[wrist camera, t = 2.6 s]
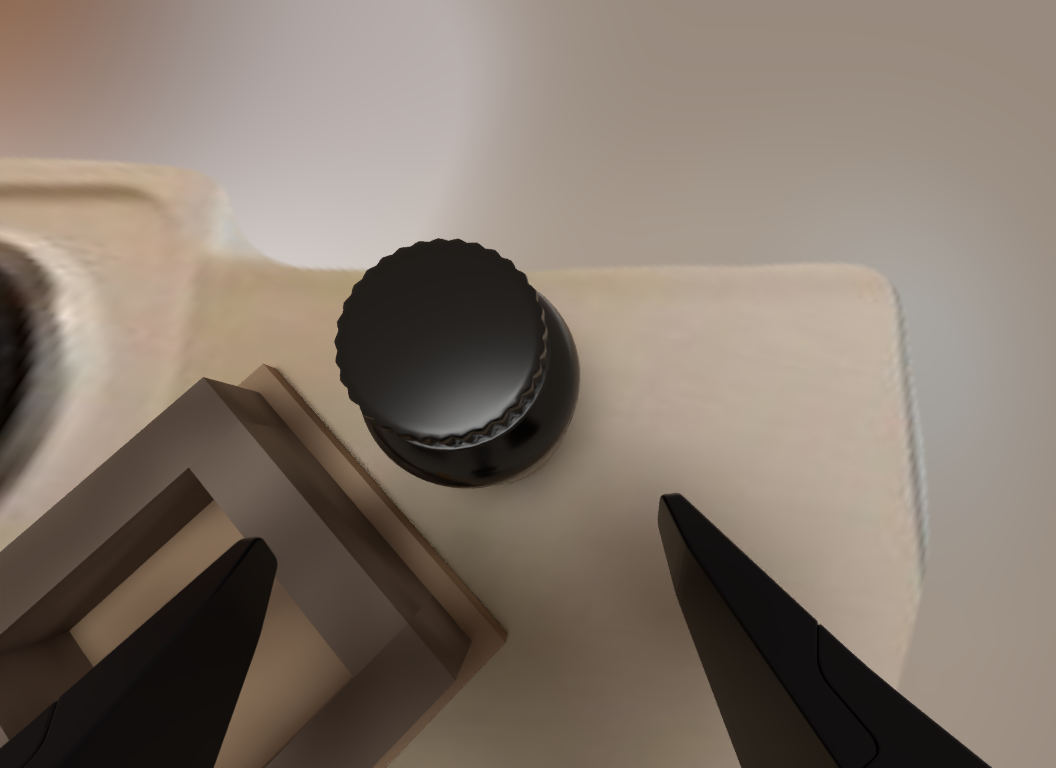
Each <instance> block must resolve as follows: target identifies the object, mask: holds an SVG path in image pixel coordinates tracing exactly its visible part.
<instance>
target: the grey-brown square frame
mask: <svg viewBox="0 0 1056 768" xmlns="http://www.w3.org/2000/svg"><path fill="white" fill-rule="evenodd" d="M250 537H261V538H263V539H264V540H265V542H266V543H267V545H268V546H269V548H270V549H271V550H272V552H273V553H274V555H275V556H276V558H277V571H276V575H275V579H274V583H273V587H272V591H271V596H270V600H269V604H268V608H267V612H266V616H265V620H264V624H263V628H262V631H261V635H260V638H259V641H258V644H257V647H256V650H255V653H254V656H253V659H252V662H251V664H250V667H249V670H248V673H247V676H246V679H245V681H244V684H243V687H242V690H241V693H240V696H239V698H238V701H237V704H236V707H235V710H234V712H233V715H232V718H231V721H230V724H229V727H228V729H227V732H226V735H225V738H224V741H223V744H222V746H221V749H220V752H219V755H218V758H217V761H216V763H215V766H214V768H386V767H387V766H388V765H389V764H390V763H391V762H392V761H393V760H394V759H395V757H396V756H397V755H398V754H399V753H400V752H401V751H402V750H403V749H404V748H405V747H406V746H407V745H408V744H409V743H410V742H411V741H412V740H413V739H414V737H415V736H416V735H417V734H418V733H419V732H420V731H421V730H422V729H423V728H424V727H425V726H426V725H427V724H428V723H429V722H430V721H431V720H432V719H433V718H434V716H435V715H436V714H437V713H438V712H439V711H440V710H441V709H442V708H443V707H444V706H445V705H446V704H447V703H448V702H449V701H450V700H451V699H452V698H453V696H454V695H455V694H456V693H457V692H458V691H459V690H460V689H461V688H462V687H463V686H464V685H465V684H466V683H467V682H468V681H469V680H470V679H471V678H472V676H473V675H474V674H475V673H476V672H477V671H478V670H479V669H480V668H481V667H482V666H483V665H484V664H485V663H486V662H487V661H488V660H489V659H490V658H491V657H492V655H493V654H494V653H495V652H496V651H497V650H498V649H499V648H500V647H501V646H502V645H503V644H504V643H505V641H506V637H507V632H506V631H505V630H504V629H503V628H502V627H501V625H500V624H499V623H498V622H497V621H496V620H495V619H494V617H493V616H492V615H491V614H490V613H489V612H488V611H487V609H486V608H485V607H484V606H483V605H482V604H481V603H480V601H479V600H478V599H477V598H476V597H475V596H474V595H473V593H472V592H471V591H470V590H469V589H468V588H467V587H466V585H465V584H464V583H463V582H462V581H461V580H460V579H459V577H458V576H457V575H456V574H455V573H454V572H453V571H452V569H451V568H450V567H449V566H448V565H447V564H446V563H445V561H444V560H443V559H442V558H441V557H440V556H439V555H438V553H437V552H436V551H435V550H434V549H433V548H432V547H431V545H430V544H429V543H428V542H427V541H426V540H425V539H424V537H423V536H422V535H421V534H420V533H419V532H418V531H417V529H416V528H415V527H414V526H413V525H412V524H411V523H410V521H409V520H408V519H407V518H406V517H405V516H404V515H403V513H402V512H401V511H400V510H399V509H398V508H397V507H396V505H395V504H394V503H393V502H392V501H391V500H390V499H389V497H388V496H387V495H386V494H385V493H384V492H383V491H382V489H381V488H380V487H379V486H378V485H377V484H376V483H375V481H374V480H373V479H372V478H371V477H370V476H369V475H368V473H367V472H366V471H365V470H364V469H363V468H362V467H361V465H360V464H359V463H358V462H357V461H356V460H355V459H354V457H353V456H352V455H351V454H350V453H349V452H348V451H347V449H346V448H345V447H344V446H343V445H342V444H341V443H340V441H339V440H338V439H337V438H336V437H335V436H334V435H333V433H332V432H331V431H330V430H329V429H328V428H327V427H326V425H325V424H324V423H323V422H322V421H321V420H320V419H319V417H318V416H317V415H316V414H315V413H314V412H313V411H312V409H311V408H310V407H309V406H308V405H307V404H306V403H305V401H304V400H303V399H302V398H301V397H300V396H299V395H298V393H297V392H296V391H295V390H294V389H293V388H292V387H291V385H290V384H289V383H288V382H287V381H286V380H285V379H284V377H283V376H282V375H281V374H280V373H279V372H278V371H277V369H276V368H273V367H271V366H268V365H265V364H262V365H261V366H260V367H259V368H258V369H257V370H256V371H254V372H253V373H252V374H251V375H250V376H249V377H248V378H246V379H245V380H244V381H243V382H242V383H241V384H240V385H238V386H234V385H230V384H226V383H223V382H219V381H215V380H212V379H208V378H204V377H203V378H202V379H200V380H199V381H198V382H197V383H196V384H195V385H194V386H192V387H191V388H190V389H189V390H188V391H187V392H185V393H184V394H183V395H182V396H181V397H180V398H178V399H177V400H176V401H175V402H174V403H173V404H171V405H170V406H169V407H168V408H167V409H166V410H165V411H163V412H162V413H161V414H160V415H159V416H158V417H156V418H155V419H154V420H153V421H152V422H151V423H149V424H148V425H147V426H146V427H145V428H144V429H142V430H141V431H140V432H139V433H138V434H137V435H136V436H134V437H133V438H132V439H131V440H130V441H129V442H127V443H126V444H125V445H124V446H123V447H122V448H120V449H119V450H118V451H117V452H116V453H115V454H113V455H112V456H111V457H110V458H109V459H108V460H107V461H105V462H104V463H103V464H102V465H101V466H100V467H98V468H97V469H96V470H95V471H94V472H93V473H91V474H90V475H89V476H88V477H87V478H86V479H84V480H83V481H82V482H81V483H80V484H79V485H78V486H76V487H75V488H74V489H73V490H72V491H71V492H69V493H68V494H67V495H66V496H65V497H64V498H62V499H61V500H60V501H59V502H58V503H57V504H55V505H54V506H53V507H52V508H51V509H50V510H49V511H47V512H46V513H45V514H44V515H43V516H42V517H40V518H39V519H38V520H37V521H36V522H35V523H33V524H32V525H31V526H30V527H29V528H28V529H27V530H25V531H24V532H23V533H22V534H21V535H20V536H18V537H17V538H16V539H15V540H14V541H13V542H11V543H10V544H9V545H8V546H7V547H6V548H4V549H3V550H2V551H1V552H0V748H1V747H2V746H3V745H4V744H5V743H7V742H8V741H9V740H10V739H11V738H12V737H14V736H15V735H16V734H17V733H18V732H19V731H21V730H22V729H23V728H24V727H25V726H26V725H28V724H29V723H30V722H31V721H32V720H33V719H35V718H36V717H37V716H38V715H39V714H40V713H41V712H43V711H44V710H45V709H46V708H47V707H48V706H49V705H51V704H52V703H53V702H54V701H58V699H59V697H60V696H61V695H62V694H63V693H64V692H66V691H67V690H68V689H69V688H70V687H71V686H72V685H74V684H75V683H76V682H77V681H78V680H79V679H80V678H82V677H83V676H84V675H85V674H86V673H87V672H88V671H90V670H91V669H92V668H93V667H94V666H95V665H96V664H98V663H99V662H100V661H101V660H102V659H103V658H104V657H106V656H107V655H108V654H109V653H110V652H111V651H112V650H114V649H115V648H116V647H117V646H118V645H119V644H121V643H122V642H123V641H124V640H125V639H126V638H127V637H129V636H130V635H131V634H132V633H133V632H134V631H135V630H137V629H138V628H139V627H140V626H141V625H142V624H143V623H145V622H146V621H147V620H148V619H149V618H150V617H151V616H153V615H154V614H155V613H156V612H157V611H158V610H159V609H161V608H162V607H163V606H164V605H165V604H166V603H167V602H169V601H170V600H171V599H172V598H173V597H174V596H175V595H177V594H178V593H179V592H180V591H181V590H182V589H183V588H185V587H186V586H187V585H188V584H189V583H190V582H191V581H193V580H194V579H195V578H196V577H197V576H198V575H199V574H201V573H202V572H203V571H204V570H205V569H206V568H207V567H209V566H210V565H211V564H212V563H213V562H214V561H215V560H217V559H218V558H219V557H220V556H221V555H222V554H223V553H225V552H226V551H227V550H228V549H229V548H230V547H231V546H233V545H234V544H235V543H236V542H237V541H239V540H240V539H243V538H250Z"/></svg>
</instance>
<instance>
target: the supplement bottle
mask: <svg viewBox="0 0 1056 768" xmlns="http://www.w3.org/2000/svg"><path fill="white" fill-rule="evenodd" d="M337 327H338V333H337V336H336V338H335V341H334V342H335V346H336V348H337V350H338V351H337V355H336V361H335V362H336V364H337V365H338V367H339V368H340V381H341V382H342V383H343V385H344V386H346V387H347V388H348V395H349V398H350V400H351V401H353V402H354V403H356V404H358V405H359V406H360V410H361V411H362V414H363V417H364V420H365V423H366V425H367V427H368V429H369V431H370V433H371V435H372V436H373V438H374V440H375V441H376V442H377V444H378V445H379V447H380V448H381V449H382V450H383V451H384V452H385V454H386V455H387V456H388V457H389V458H390V459H391V460H393V461H394V462H395V463H396V464H397V465H398V466H400V467H401V468H403V469H404V470H405V471H407V472H409V473H411V474H412V475H414V476H416V477H418V478H420V479H423V480H425V481H428V482H431V483H434V484H437V485H442V486H447V487H453V488H481V487H489V486H495V485H501V484H507V483H512V482H515V481H518V480H520V479H523V478H525V477H527V476H529V475H531V474H533V473H534V472H536V471H537V470H538V469H540V468H541V467H542V466H543V465H544V464H545V463H546V462H547V461H548V460H549V459H550V458H551V457H552V456H553V454H554V453H555V452H556V450H557V448H558V447H559V445H560V443H561V441H562V439H563V437H564V435H565V433H566V430H567V428H568V426H569V424H570V421H571V419H572V416H573V414H574V411H575V407H576V404H577V399H578V393H579V383H580V367H579V359H578V354H577V349H576V345H575V343H574V340H573V337H572V334H571V332H570V330H569V328H568V326H567V324H566V323H565V321H564V319H563V318H562V316H561V315H560V314H559V312H558V311H557V309H556V308H555V307H554V306H553V305H552V304H551V303H550V302H549V301H548V300H547V299H546V298H545V297H544V296H543V295H542V294H541V293H539V292H538V291H537V290H535V289H534V288H533V287H532V286H531V285H529V283H528V279H527V276H526V274H524V273H523V272H521V271H518V270H517V269H516V268H515V266H514V264H513V263H512V261H511V260H508V259H505V258H502V257H501V256H500V255H499V253H498V252H496V251H495V250H492V249H485V248H484V247H482V246H481V245H480V244H478V243H466V242H464V241H462V240H460V239H453V240H450V241H447V240H444V239H439V238H438V239H435V240H433V241H430V242H424V241H419V242H417V243H415V244H414V245H412V246H411V247H403V248H399V249H398V250H397V251H396V252H395V253H394V254H393V255H389V256H386V257H383V258H382V259H381V260H380V261H379V263H378V264H377V265H376V266H375V267H372V268H370V269H368V270H367V271H366V273H365V274H364V276H363V279H362V280H360V281H359V282H358V283H356V284H355V285H354V286H353V289H352V294H351V296H350V297H349V298H348V299H347V300H346V301H345V302H344V305H343V313H342V315H341V316H340V318H339V319H338V321H337Z"/></svg>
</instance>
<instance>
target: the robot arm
mask: <svg viewBox="0 0 1056 768" xmlns="http://www.w3.org/2000/svg"><path fill="white" fill-rule="evenodd" d="M658 527H659V531H660V535H661V539H662V543H663V546H664V550H665V554H666V558H667V562H668V566H669V570H670V574H671V577H672V581H673V585H674V589H675V592H676V596H677V599H678V601H679V604H680V607H681V610H682V612H683V615H684V618H685V620H686V623H687V626H688V628H689V631H690V633H691V636H692V639H693V641H694V644H695V647H696V649H697V652H698V655H699V657H700V660H701V663H702V665H703V668H704V670H705V673H706V676H707V678H708V681H709V684H710V686H711V689H712V692H713V694H714V697H715V699H716V702H717V705H718V707H719V710H720V713H721V715H722V718H723V721H724V723H725V726H726V728H727V731H728V734H729V736H730V739H731V742H732V744H733V747H734V750H735V752H736V755H737V757H738V760H739V763H740V765H741V768H992V767H991V766H989V765H988V764H987V763H985V762H984V761H983V760H982V759H980V758H979V757H978V756H977V755H976V754H974V753H973V752H972V751H971V750H969V749H968V748H967V747H966V746H964V745H963V744H962V743H961V742H959V741H958V740H957V739H956V738H954V737H953V736H952V735H951V734H949V733H948V732H947V731H946V730H944V729H943V728H942V727H941V726H939V725H938V724H937V723H936V722H934V721H933V720H932V719H931V718H929V717H928V716H927V715H926V714H925V713H923V712H922V711H921V710H920V709H918V708H917V707H916V706H915V705H913V704H912V703H911V702H910V701H908V700H907V699H906V698H905V697H903V696H902V695H901V694H900V693H899V692H897V691H896V690H895V689H894V688H893V687H891V686H890V685H889V684H888V683H887V682H885V681H884V680H883V679H882V678H880V677H879V676H878V675H877V674H876V673H874V672H873V671H872V670H871V669H870V668H868V667H867V666H866V665H865V664H864V663H863V662H862V661H861V660H860V659H858V658H857V657H856V656H855V655H854V654H853V653H852V652H851V651H849V650H848V649H847V648H846V647H845V646H844V645H843V644H842V643H841V642H839V641H838V640H837V639H836V638H835V637H834V636H833V635H832V634H831V633H830V632H829V631H828V630H827V629H825V628H824V627H823V626H822V625H820V624H819V625H818V622H817V620H816V619H815V618H813V617H812V616H811V615H810V614H809V613H808V612H807V611H806V610H805V609H804V608H803V607H802V606H801V605H800V604H798V603H797V602H796V601H795V600H794V599H793V598H792V597H791V596H790V595H789V594H788V593H787V592H786V591H784V590H783V589H782V588H781V587H780V586H779V585H778V584H777V583H776V582H775V581H774V580H773V579H772V578H770V577H769V576H768V575H767V574H766V573H765V572H764V571H763V570H762V569H761V568H760V567H759V566H758V565H757V564H755V563H754V562H753V561H752V560H751V559H750V558H749V557H748V556H747V555H746V554H745V553H744V552H743V551H741V550H740V549H739V548H738V547H737V546H736V545H735V544H734V543H733V542H732V541H731V540H730V539H729V538H728V537H726V536H725V535H724V534H723V533H722V532H721V531H720V530H719V529H718V528H717V527H716V526H715V525H714V524H712V523H711V522H710V521H709V520H708V519H707V518H706V517H705V516H704V515H703V514H702V513H701V512H700V511H699V510H697V509H696V508H695V507H694V506H693V505H692V504H691V503H690V502H689V501H688V500H687V499H686V498H685V497H683V496H682V495H681V494H679V493H672V494H663V495H662V496H661V497H660V502H659V511H658ZM276 571H277V558H276V556H275V555H274V553H273V552H272V550H271V549H270V548H269V546H268V545H267V543H266V542H265V540H264V539H263V538H261V537H250V538H243V539H240V540H239V541H237V542H236V543H235V544H234V545H233V546H231V547H230V548H229V549H228V550H227V551H226V552H225V553H223V554H222V555H221V556H220V557H219V558H218V559H217V560H215V561H214V562H213V563H212V564H211V565H210V566H209V567H207V568H206V569H205V570H204V571H203V572H202V573H201V574H199V575H198V576H197V577H196V578H195V579H194V580H193V581H191V582H190V583H189V584H188V585H187V586H186V587H185V588H183V589H182V590H181V591H180V592H179V593H178V594H177V595H175V596H174V597H173V598H172V599H171V600H170V601H169V602H167V603H166V604H165V605H164V606H163V607H162V608H161V609H159V610H158V611H157V612H156V613H155V614H154V615H153V616H151V617H150V618H149V619H148V620H147V621H146V622H145V623H143V624H142V625H141V626H140V627H139V628H138V629H137V630H135V631H134V632H133V633H132V634H131V635H130V636H129V637H127V638H126V639H125V640H124V641H123V642H122V643H121V644H119V645H118V646H117V647H116V648H115V649H114V650H112V651H111V652H110V653H109V654H108V655H107V656H106V657H104V658H103V659H102V660H101V661H100V662H99V663H98V664H96V665H95V666H94V667H93V668H92V669H91V670H90V671H88V672H87V673H86V674H85V675H84V676H83V677H82V678H80V679H79V680H78V681H77V682H76V683H75V684H74V685H72V686H71V687H70V688H69V689H68V690H67V691H66V692H64V693H63V694H62V695H61V696H60V697H59V699H58V701H54V702H53V703H52V704H51V705H49V706H48V707H47V708H46V709H45V710H44V711H43V712H41V713H40V714H39V715H38V716H37V717H36V718H35V719H33V720H32V721H31V722H30V723H29V724H28V725H26V726H25V727H24V728H23V729H22V730H21V731H19V732H18V733H17V734H16V735H15V736H14V737H12V738H11V739H10V740H9V741H8V742H7V743H5V744H4V745H3V746H2V747H1V748H0V768H214V766H215V763H216V761H217V758H218V755H219V752H220V749H221V746H222V744H223V741H224V738H225V735H226V732H227V729H228V727H229V724H230V721H231V718H232V715H233V712H234V710H235V707H236V704H237V701H238V698H239V696H240V693H241V690H242V687H243V684H244V681H245V679H246V676H247V673H248V670H249V667H250V664H251V662H252V659H253V656H254V653H255V650H256V647H257V644H258V641H259V638H260V635H261V631H262V628H263V624H264V620H265V616H266V612H267V608H268V604H269V600H270V596H271V591H272V587H273V583H274V579H275V575H276Z"/></svg>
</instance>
